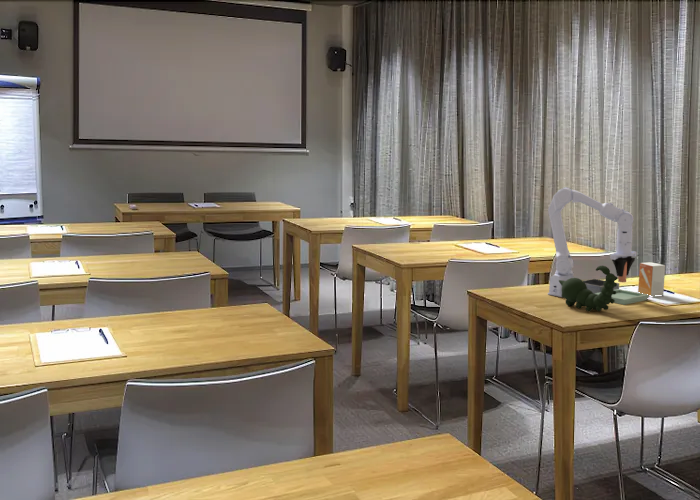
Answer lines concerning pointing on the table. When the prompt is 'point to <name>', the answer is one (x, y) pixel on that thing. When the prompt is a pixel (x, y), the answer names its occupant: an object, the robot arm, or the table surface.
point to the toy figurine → (589, 292)
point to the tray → (627, 297)
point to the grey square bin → (596, 285)
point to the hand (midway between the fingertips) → (622, 275)
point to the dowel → (623, 278)
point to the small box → (651, 278)
